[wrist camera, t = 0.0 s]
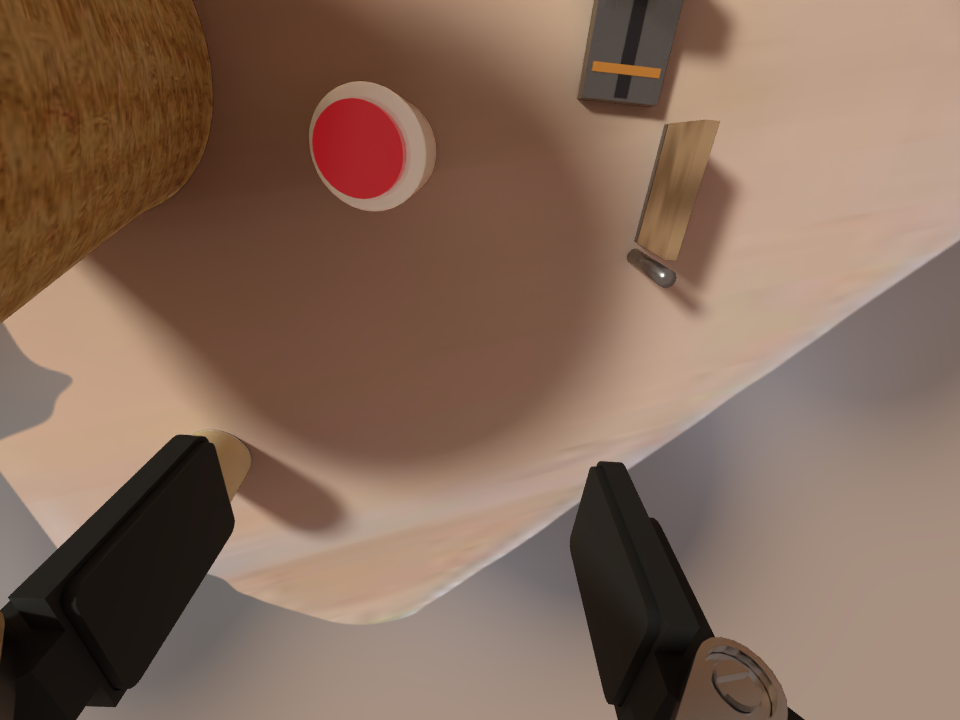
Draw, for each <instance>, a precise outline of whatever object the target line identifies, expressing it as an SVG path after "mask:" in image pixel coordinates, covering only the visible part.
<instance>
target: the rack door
mask: <svg viewBox="0 0 960 720" xmlns="http://www.w3.org/2000/svg"><path fill="white" fill-rule="evenodd" d="M719 123H720V121H713V120H699V121H689V122H680V123H671V124H669V125H668V128H667V132H666V136H665V140H664V143H663V147H662V151H661V155H660V159H659V162H658V166H657V170H656V174H655V177H654V181H653V185H652V189H651V193H650V196H649V200H648V204H647V208H646V211H645V215H644V219H643V223H642V226H641V230H640V234H639V238H638V242H637V243H638V244H639V245H641V246H643V247H644V248H646V249H647V250H649V251H651V252H652V253H654V254H656V255H657V256H659V257H661V258H662V259H665V260H677V257H678V254H679V250H680V247H681V244H682V241H683V238H684V235H685V231H686V228H687V225H688V222H689V219H690V215H691V212H692V209H693V206H694V203H695V200H696V196H697V193H698V190H699V187H700V184H701V181H702V177H703V174H704V171H705V168H706V165H707V162H708V158H709V155H710V152H711V149H712V146H713V142H714V139H715V136H716V133H717V130H718V127H719Z"/></svg>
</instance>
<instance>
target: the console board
mask: <svg viewBox="0 0 960 720" xmlns="http://www.w3.org/2000/svg"><path fill="white" fill-rule="evenodd" d="M682 3H683V0H594V4H593V10H592V16H591V22H590V27H589V33H588V39H587V45H586V51H585V57H584V63H583V68H582V74H581V80H580V86H579V92H578V98H577V99H583V100H592V101H601V102H610V103H619V104H628V105H637V106H646V107H651V106H656V105H657V103H658V99H659V95H660V91H661V87H662V83H663V79H664V75H665V71H666V67H667V63H668V59H669V55H670V51H671V47H672V43H673V39H674V35H675V31H676V27H677V23H678V19H679V15H680V11H681V7H682Z"/></svg>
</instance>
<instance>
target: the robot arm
mask: <svg viewBox="0 0 960 720" xmlns="http://www.w3.org/2000/svg"><path fill="white" fill-rule="evenodd" d="M234 523H235V520H234V515H233V511H232V508H231V504H230V500H229V496H228V493H227V489H226V485H225V481H224V478H223V474H222V470H221V466H220V463H219V459H218V455H217V451H216V448H215V445H214V444H213V443H209V440H208V439H207V438H206V437H205V436H195V435H176V436H175V437H173V438H172V439H171V440H170V441H169V442H168V443H167V444H166V445H165V446H164V447H163V448H162V449H161V450H160V451H158V452H157V453H156V454H155V455H154V456H153V457H152V458H151V459H150V460H149V461H148V462H147V463H146V464H145V465H144V466H143V467H142V468H141V469H140V470H139V471H138V472H137V473H136V474H135V475H134V476H133V477H132V478H131V479H130V480H129V481H128V482H126V483H125V484H124V485H123V486H122V487H121V488H120V489H119V490H118V491H117V492H116V493H115V494H114V495H113V496H112V497H111V498H110V499H109V500H108V501H107V502H106V503H105V504H104V505H103V506H102V507H101V508H100V509H99V510H98V511H97V512H95V513H94V514H93V515H92V516H91V517H90V518H89V519H88V520H87V521H86V522H85V523H84V524H83V525H82V526H81V527H80V528H79V529H78V530H77V531H76V532H75V533H74V534H73V535H72V536H71V537H70V538H69V539H68V540H67V541H66V542H65V543H63V544H62V545H61V546H60V547H59V548H58V549H57V550H56V551H55V552H54V553H53V554H52V555H51V556H50V557H49V558H48V559H47V560H46V561H45V562H44V563H43V564H42V565H41V566H40V567H39V568H38V569H37V570H36V571H35V572H34V573H33V574H32V575H30V576H29V577H28V578H27V580H25V581H24V582H23V583H22V584H21V585H20V586H19V587H18V588H17V589H16V590H15V591H14V592H13V593H12V594H11V595H10V596H9V597H8V598H9V599H10V601H9V602H8V603H7V604H6V605H5V606H4V607H3V608H2V609H1V610H0V720H76V719H77V718H78V716H79V715H80V713H81V712H82V710H83V709H84V707H85V706H97V707H116V706H117V704H118V703H119V701H120V700H121V698H122V696H123V695H124V693H125V692H126V690H127V689H130V688H132V687H134V686H135V685H136V684H137V683H138V682H139V680H140V679H141V678H142V676H143V675H144V673H145V671H146V670H147V668H148V667H149V665H150V663H151V662H152V660H153V658H154V657H155V655H156V654H157V652H158V651H159V649H160V647H161V646H162V644H163V642H164V641H165V639H166V638H167V636H168V635H169V633H170V631H171V630H172V628H173V627H174V625H175V623H176V622H177V620H178V619H179V617H180V615H181V614H182V612H183V611H184V609H185V607H186V605H187V604H188V603H189V601H190V599H191V598H192V596H193V595H194V593H195V591H196V590H197V588H198V587H199V585H200V583H201V582H202V580H203V579H204V577H205V575H206V574H207V572H208V571H209V569H210V567H211V566H212V564H213V563H214V561H215V559H216V558H217V556H218V555H219V553H220V552H221V550H222V548H223V547H224V545H225V544H226V542H227V540H228V539H229V537H230V536H231V534H232V531H233V529H234ZM570 551H571V556H572V560H573V564H574V568H575V573H576V577H577V581H578V585H579V590H580V594H581V598H582V602H583V606H584V611H585V615H586V619H587V623H588V628H589V632H590V636H591V640H592V645H593V649H594V653H595V658H596V662H597V666H598V671H599V675H600V679H601V683H602V687H603V692H604V695H605V698H606V701H607V702H608V704H612V705H614V706H615V710H616V714H617V718H618V720H804V719H803V718H802V717H800V716H799V715H798V714H796V713H795V712H794V711H793V710H791V709H790V708H789V707H787V699H786V696H785V694H784V691H783V688H782V686H781V684H780V682H779V681H778V679H777V678H776V676H775V675H774V673H773V671H772V670H771V669H770V668H769V667H768V666H767V664H766V663H765V662H764V661H763V660H762V659H761V658H760V657H759V656H757V655H756V654H755V653H754V652H752V651H751V650H750V649H749V648H747V647H746V646H744V645H742V644H740V643H738V642H736V641H734V640H731V639H727V638H723V637H715V636H714V634H713V632H712V630H711V628H710V626H709V624H708V622H707V620H706V618H705V616H704V614H703V612H702V610H701V608H700V605H699V603H698V601H697V599H696V597H695V595H694V593H693V591H692V589H691V587H690V585H689V583H688V581H687V579H686V577H685V575H684V573H683V571H682V569H681V566H680V564H679V562H678V561H677V558H676V556H675V554H674V552H673V550H672V548H671V546H670V544H669V542H668V540H667V538H666V536H665V534H664V532H663V530H662V528H661V526H660V524H659V523H658V521H657V520H655V519H654V518H649V517H648V514H647V512H646V510H645V508H644V506H643V504H642V502H641V499H640V497H639V495H638V493H637V491H636V489H635V487H634V484H633V482H632V480H631V478H630V476H629V474H628V472H627V469H626V467H625V466H624V464H623V463H621V462H605V461H600V462H598V464H597V466H596V467H591V468H590V470H589V473H588V477H587V480H586V484H585V488H584V491H583V495H582V498H581V502H580V505H579V509H578V512H577V516H576V520H575V523H574V526H573V530H572V534H571V537H570Z"/></svg>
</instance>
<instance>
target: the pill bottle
mask: <svg viewBox="0 0 960 720" xmlns="http://www.w3.org/2000/svg"><path fill="white" fill-rule="evenodd" d="M309 149H310V153H311V157H312V161H313V164H314V166H315V169H316V171H317V173H318V175H319V176H320V178H321V180H322V181H323V183H324V184H325V185H326V187H327V188H328V189H329V190H330V191H331V192H332V193H333V194H334V195H335V196H336V197H338V198H339V199H340V200H341V201H343V202H345V203H347V204H348V205H350V206H352V207H355V208H358V209H361V210H365V211H373V212H374V211H385V210H388V209H392V208H395V207H396V206H398V205H400V204H402V203H404V202H405V201H406V200H407V199H409V198H410V197H411V196H412V195H414V194H415V193H416V192H417V191H418V190H420V189H421V188H422V187H423V186H424V185H425V184H426V182H427V181H428V180H429V178H430V176H431V174H432V172H433V169H434V165H435V162H436V142H435V138H434V134H433V131H432V129H431V127H430V124H429V122H428V121H427V119H426V118H425V116H424V115H423V114H422V112H421V111H420V110H419V109H418V108H416V107H415V106H414V105H413V104H411V103H410V102H408V101H407V100H405V99H404V98H402V97H401V96H399V95H398V94H396V93H394V92H393V91H391V90H390V89H388V88H387V87H384V86H381V85H379V84H376V83H373V82H366V81H355V82H348V83H345V84H342V85H339V86H338V87H336V88H334V89H333V90H331V91H330V92H328V94H327V95H326V96H325V97H324V98H323V99H322V100H321V101H320V103H319V104H318V106H317V108H316V109H315V111H314V114H313V117H312V120H311V123H310V130H309Z"/></svg>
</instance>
